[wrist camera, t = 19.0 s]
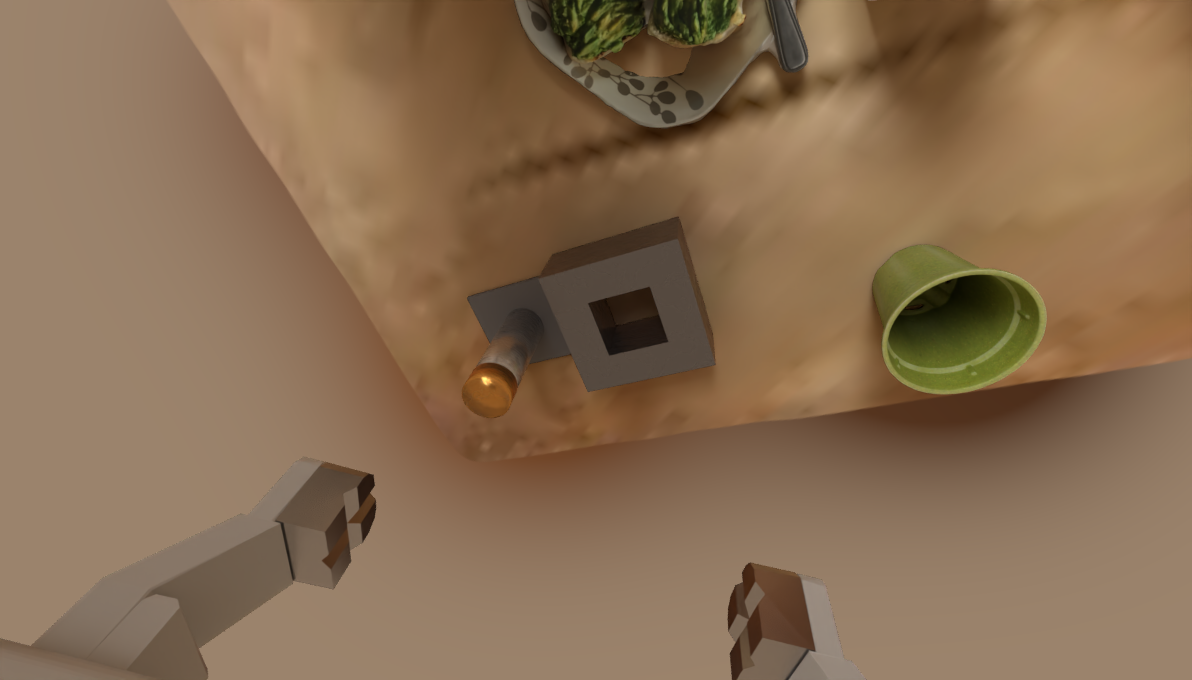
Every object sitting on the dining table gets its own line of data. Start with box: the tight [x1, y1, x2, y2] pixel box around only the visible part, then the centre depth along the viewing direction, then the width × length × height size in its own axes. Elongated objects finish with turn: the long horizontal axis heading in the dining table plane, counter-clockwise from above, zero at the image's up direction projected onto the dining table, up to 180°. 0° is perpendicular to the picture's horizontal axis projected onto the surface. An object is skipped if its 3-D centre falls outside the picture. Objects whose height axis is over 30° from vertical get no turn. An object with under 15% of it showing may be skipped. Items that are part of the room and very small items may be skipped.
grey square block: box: [538, 217, 716, 392], centre depth 44 cm, size 11×11×5 cm
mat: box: [467, 276, 571, 364], centre depth 49 cm, size 8×8×1 cm
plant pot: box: [872, 245, 1047, 394], centre depth 38 cm, size 9×9×9 cm
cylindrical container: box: [462, 308, 544, 418], centre depth 44 cm, size 4×4×11 cm
